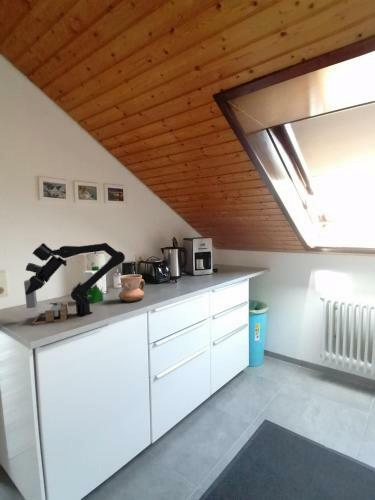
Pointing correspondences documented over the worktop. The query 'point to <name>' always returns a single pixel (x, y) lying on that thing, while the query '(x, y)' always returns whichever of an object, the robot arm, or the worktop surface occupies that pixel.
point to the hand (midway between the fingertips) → (27, 293)
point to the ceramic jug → (131, 287)
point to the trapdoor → (49, 308)
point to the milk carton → (94, 287)
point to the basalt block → (30, 296)
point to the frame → (50, 315)
